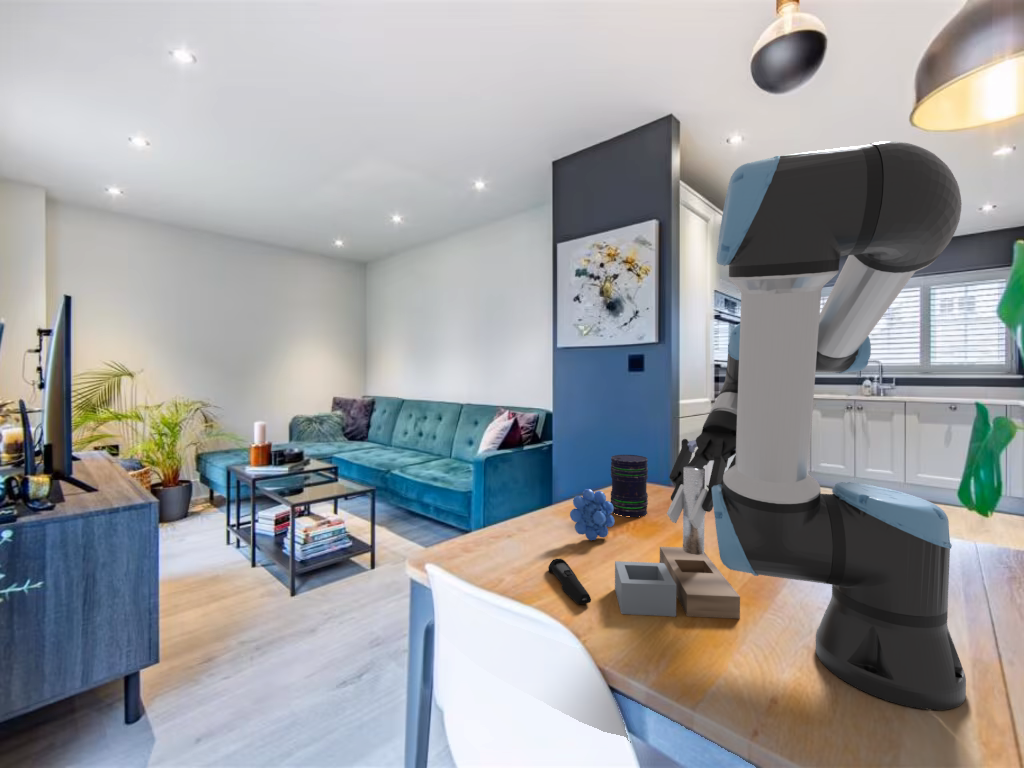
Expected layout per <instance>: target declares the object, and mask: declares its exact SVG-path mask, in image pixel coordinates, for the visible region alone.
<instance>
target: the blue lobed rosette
mask: <svg viewBox="0 0 1024 768" xmlns="http://www.w3.org/2000/svg"><path fill="white" fill-rule="evenodd" d="M572 504H573V507H574V508H573V509H571V510H570V513H569V517H570V519H571V521H573V522H575V524H574V530H575V532H576V533H577V534H579V535H585V537H586V539H587V540H589V541H592V540H594V541H595V540H597V538H598V537H599V538H606V537H608V535H609V529H608V528H612V527H613V526H614V525H615V523H616V522H615V518H614V516H613V515H612V514H613V513H612V512H613V510H614V507H613V504H612V503H611V500H610V501H609V500H607V496H606V494H605V493H604V492H603V491H602V490H597V491H595V492H594V490H592V489H590V488H586V489H584V490H583V492H582V496H581V495H576V496H575V497H574V498H573V499H572Z"/></svg>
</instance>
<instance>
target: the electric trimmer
mask: <svg viewBox="0 0 1024 768" xmlns="http://www.w3.org/2000/svg"><path fill="white" fill-rule="evenodd" d="M548 572H553V574H554V575H555V577H556V578H557V579H558V580H559V582H560V584H561V589H562V591H563V592H564V593H565V594H566V595H567V596H568V597H569V598H571V599H572V600H573V601H574V602H575V603H576V604H578V605H581V604H589V603H591V602H592V598H591V596H590V594H589V592H588V591H587V590H586V588H585V587H584V585H583V584H582V583H581V581H580V580H579V579H578V577H577V575H576V574H575V572H574V571H573V569H572V568H571V567H570V565H569V564H568V563H567V562H566V560H565V559H564V558H563V559H562V558H555V559H554V558H553V560H552V561H551V562H550V563H549V565H548Z"/></svg>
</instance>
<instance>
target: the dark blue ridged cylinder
mask: <svg viewBox="0 0 1024 768" xmlns="http://www.w3.org/2000/svg"><path fill="white" fill-rule="evenodd" d="M610 459H611V462H610V463H611V464H610V477H611V491H610V502H611V503H612V504H613V507H614V510H613V513H615V514H618V515H622V516H630V517H639V516H644V515H646V514H647V515H648V511H647V510H648V504H649V503H648V502H649V500H648V497H649V494H648V492H647V489H648V487H647V480H648V477H649V474H648V473H649V468H648V457H646V456H643V455H635V454H616V455H612V456H611V457H610ZM613 513H612V514H613ZM647 515H646V516H647ZM644 517H645V516H644ZM639 518H640V517H639Z"/></svg>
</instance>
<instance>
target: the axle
mask: <svg viewBox="0 0 1024 768" xmlns="http://www.w3.org/2000/svg"><path fill="white" fill-rule="evenodd" d="M702 489H706V468H705V467H703V468H701V467H694V466H688V467H684V479H683V510H682V513H683V514H682V515H683V516H682V547H683V551H684V552H686V553H689V554H695V555H700V554H703V553H704V552H705V521H706V520H705V517H706V516H705V515H706V514H705V515H704V518H703V520H702V522H701V525H700V527H699V529H696V528H694V527H693V525H692V524H691V522H690V521H689V518H690V515H691V513H692V511H693V509H694V507H695V504H696V502H697V500H698V498H699V496H700V493H701V491H702Z"/></svg>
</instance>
